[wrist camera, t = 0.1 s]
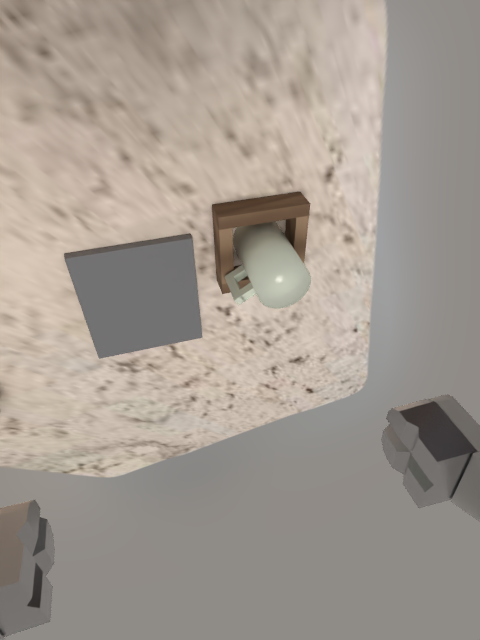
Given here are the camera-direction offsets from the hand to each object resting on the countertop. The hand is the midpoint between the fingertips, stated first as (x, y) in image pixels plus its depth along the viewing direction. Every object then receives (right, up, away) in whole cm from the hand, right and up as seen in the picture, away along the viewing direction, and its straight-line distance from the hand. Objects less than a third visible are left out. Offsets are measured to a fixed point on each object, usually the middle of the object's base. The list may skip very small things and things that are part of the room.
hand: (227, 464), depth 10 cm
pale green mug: (+1, +13, +44) cm, 45 cm away
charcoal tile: (-12, +6, +45) cm, 47 cm away
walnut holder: (+2, +13, +43) cm, 45 cm away
